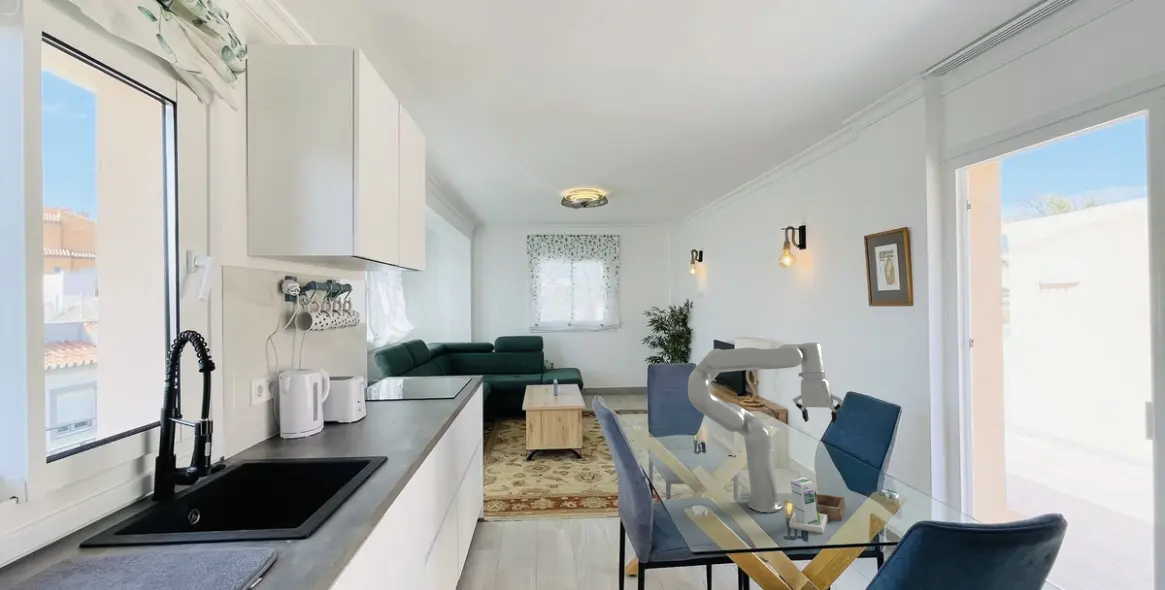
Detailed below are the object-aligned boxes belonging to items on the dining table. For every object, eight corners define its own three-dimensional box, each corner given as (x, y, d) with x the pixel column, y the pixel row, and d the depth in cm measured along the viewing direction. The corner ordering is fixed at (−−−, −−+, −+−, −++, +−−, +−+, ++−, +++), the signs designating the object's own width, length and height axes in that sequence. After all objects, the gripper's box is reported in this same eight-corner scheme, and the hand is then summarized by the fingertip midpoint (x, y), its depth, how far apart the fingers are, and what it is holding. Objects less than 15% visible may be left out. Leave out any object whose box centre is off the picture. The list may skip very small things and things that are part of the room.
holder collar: (808, 515, 172) (807, 504, 172) (813, 503, 180) (812, 493, 180) (841, 520, 165) (840, 508, 165) (845, 508, 174) (844, 497, 174)
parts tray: (789, 528, 164) (789, 522, 164) (796, 515, 173) (795, 509, 173) (822, 533, 158) (822, 527, 158) (827, 520, 167) (827, 514, 167)
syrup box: (806, 527, 162) (801, 484, 162) (794, 520, 168) (789, 479, 168) (820, 523, 164) (815, 481, 164) (808, 516, 169) (803, 475, 170)
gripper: (786, 378, 181) (793, 423, 180) (837, 377, 170) (844, 425, 170) (792, 374, 187) (798, 418, 186) (841, 373, 176) (848, 419, 176)
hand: (820, 421), depth 178 cm, fingers open, 9 cm apart
